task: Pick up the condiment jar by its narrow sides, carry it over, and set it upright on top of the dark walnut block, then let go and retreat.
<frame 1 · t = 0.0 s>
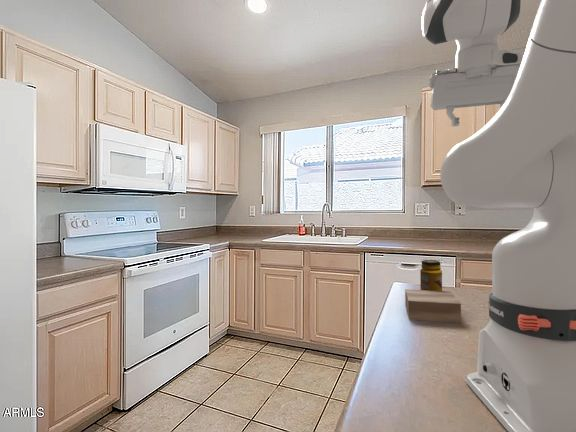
hand: (477, 124, 78), 48 cm above the countertop, fingers open, 8 cm apart
walnut block: (430, 314, 87), on the countertop
condiment: (428, 300, 99), on the countertop
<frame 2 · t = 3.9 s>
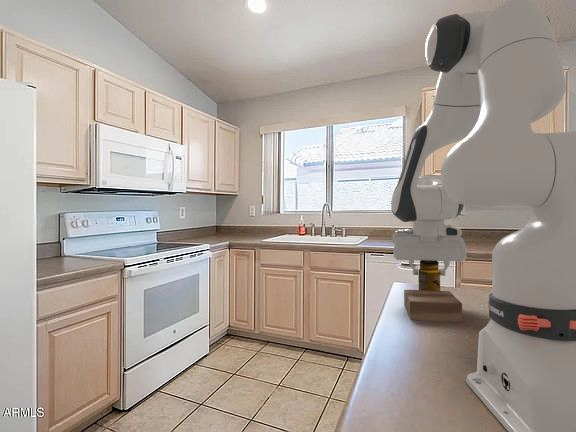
hand: (428, 275, 99), 8 cm above the countertop, fingers closed on condiment, 6 cm apart
condiment: (426, 300, 99), on the countertop, touching gripper
everything else where it was.
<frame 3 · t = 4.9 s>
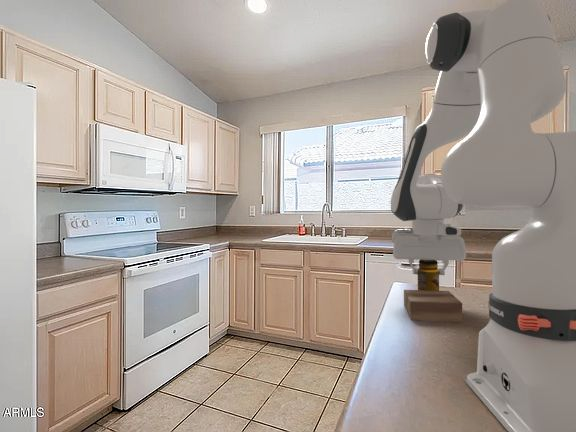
hand: (428, 274, 99), 8 cm above the countertop, fingers closed on condiment, 6 cm apart
condiment: (425, 300, 99), on the countertop, touching gripper
everything else where it was.
when the fingers open (14 cm above the countertop, at t = 10.4 s): condiment drops 1 cm, point 4 cm above the countertop.
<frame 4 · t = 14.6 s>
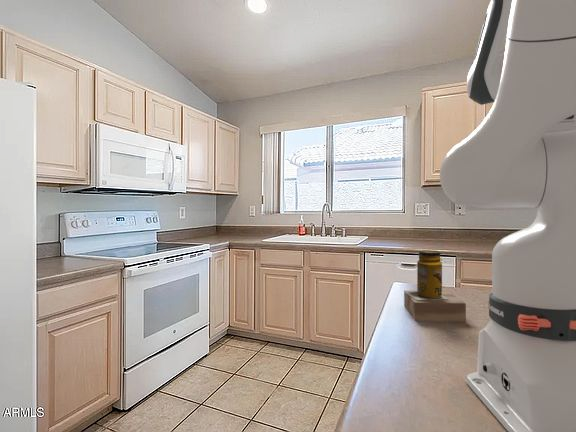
hand: (529, 176, 78), 35 cm above the countertop, fingers open, 8 cm apart
condiment: (426, 296, 87), point 4 cm above the countertop
at the end: condiment inside the target area on the walnut block (1.8 cm from its centre), point 4.8 cm above the walnut block's base; condiment tilted 0°; the gripper is holding nothing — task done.
